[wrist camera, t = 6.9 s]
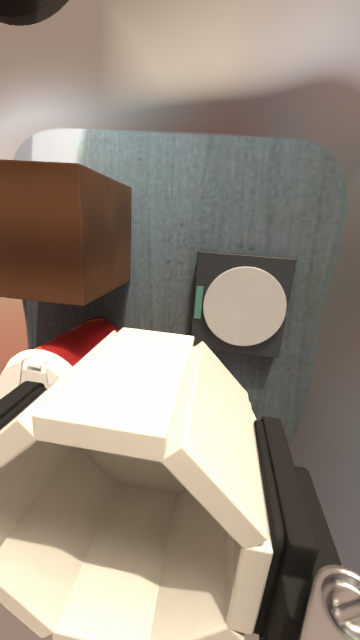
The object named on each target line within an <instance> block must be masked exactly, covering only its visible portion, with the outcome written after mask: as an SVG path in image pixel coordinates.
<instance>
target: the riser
mask: <svg viewBox="0 0 360 640" xmlns="http://www.w3.org/2000/svg"><path fill="white" fill-rule="evenodd" d="M130 240H131V187H128V186H126V185H124V184H122V183H120V182H118V181H115V180H113V179H111V178H109V177H107V176H105V175H102V174H100V173H98V172H96V171H94V170H92V169H89V168H87V167H85V166H83V165H81V164H78V163H58V162H38V161H18V160H0V297H6V298H15V299H24V300H33V301H42V302H51V303H61V304H70V305H79V306H84V305H86V304H88V303H90V302H92V301H94V300H95V299H97V298H99V297H101V296H103V295H105V294H107V293H108V292H110V291H112V290H114V289H116V288H118V287H120V286H121V285H123V284H125V283H127V282H129V281H130Z"/></svg>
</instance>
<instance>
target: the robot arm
mask: <svg viewBox="0 0 360 640" xmlns="http://www.w3.org/2000/svg"><path fill="white" fill-rule="evenodd" d="M45 389H46V388H45V385H44V384H43V383H39V382H32V381H25V382H23V383H21V384H20V385H19V386H17V387H16V388H15V389H13V390H12V391H11V392H9V393H8V394H7V395H5V396H4V397H3V398H1V399H0V428H1V427H3V426H4V425H5V424H6V423H7V422H8V421H9V420H10V419H12V418H13V417H14V416H15V415H16V414H17V413H18V412H20V411H21V410H22V409H23V408H24V407H25V406H26V405H27V404H29V403H30V402H31V401H32V400H33V399H34V398H35V397H37V396H38V395H39V394H40V393H41V392H42V391H43V390H45ZM254 429H255V435H256V442H257V448H258V455H259V461H260V468H261V475H262V481H263V488H264V494H265V501H266V507H267V514H268V520H269V527H270V534H271V540H272V547H273V557H272V561H271V565H270V569H269V573H268V577H267V581H266V585H265V589H264V593H263V597H262V601H261V605H260V610H259V614H258V618H257V622H256V626H255V630H254V633H256V634H259V640H360V574H359V573H358V572H356V571H354V570H352V569H350V568H348V567H346V566H342V565H341V562H340V559H339V556H338V553H337V550H336V548H335V545H334V542H333V539H332V536H331V534H330V531H329V528H328V525H327V522H326V519H325V516H324V513H323V511H322V508H321V505H320V502H319V499H318V496H317V494H316V491H315V488H314V485H313V482H312V479H311V476H310V474H309V472H308V470H307V469H306V468H303V467H297V466H294V463H293V460H292V456H291V453H290V449H289V446H288V443H287V439H286V436H285V433H284V429H283V426H282V423H281V420H280V419H277V418H271V417H264V416H262V417H261V419H260V420H255V421H254Z"/></svg>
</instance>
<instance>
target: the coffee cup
mask: <svg viewBox="0 0 360 640" xmlns="http://www.w3.org/2000/svg"><path fill="white" fill-rule="evenodd" d="M114 330H115V331H116V332H117V333H118V332H119V331H118V329H117V328H116V326H115V325H114V324H112V323H111V322H109V321H107V320H105V319H92V320H89V321H87V322H85V323H83V324H81V325H79V326H77V327H75V328H73V329H71V330H69V331H67V332H65V333H63V334H62V335H60V336H58V337H56V338H54V339H52V340H50V341H48V342H46V343H45V344H43V345H41V346H39V347H37V348H35V349H32V350H26V351H23V352H20V353H18V354H16V355H15V356H13V357H12V358H11V359H10V360H9V362H8V363H7V365H6V367H5V369H4V371H3V372H2V374H1V376H0V399H1V398H3V397H4V396H5V395H7V394H8V393H9V392H11V391H12V390H13V389H15V388H16V387H17V386H19V385H20V384H21V383H23V382H25V381H32V382H39V383H43V384H44V385H45V388H47V387H48V386H49V385H50V384H51V383H52V382H54V381H55V380H56V379H57V378H58V377H59V376H60V375H62V374H63V373H64V372H65V371H66V370H67V369H68V368H70V367H71V366H72V365H73V364H74V363H75V362H77V361H78V360H79V359H80V358H81V357H83V356H84V355H85V354H86V353H87V352H88V351H90V350H91V349H92V348H93V347H94V346H95V345H97V344H98V343H99V342H100V341H101V340H103V339H104V338H105V337H106V336H107V335H108V334H110V333H111V332H112V331H114Z"/></svg>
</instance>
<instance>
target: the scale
mask: <svg viewBox="0 0 360 640" xmlns="http://www.w3.org/2000/svg"><path fill="white" fill-rule="evenodd" d="M296 261H297V260H296V259H294V258H282V257H270V256H258V255H246V254H233V253H221V252H209V251H198V259H197V271H196V282H195V294H194V305H193V317H192V328H191V336H194V337H195V341H194V347H195V346H196V345H197V344H199V343H200V342H202V341H203V342H204V343H205V344H206V345H207V346H208V347H209V349H210V350H216V351H224V352H233V353H241V354H249V355H257V356H266V357H274V358H278V356H279V351H280V345H281V340H282V335H283V329H284V324H285V319H286V314H287V308H288V303H289V298H290V293H291V287H292V282H293V277H294V272H295V266H296Z"/></svg>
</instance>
